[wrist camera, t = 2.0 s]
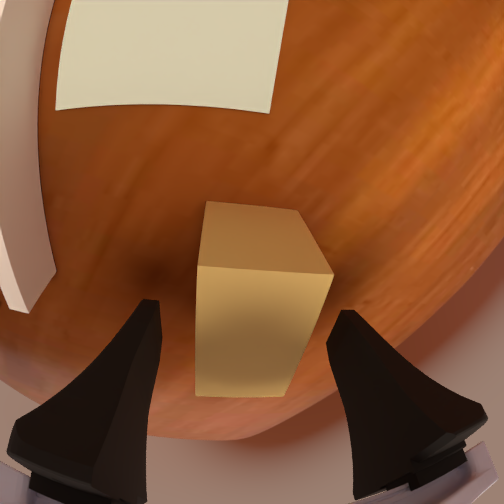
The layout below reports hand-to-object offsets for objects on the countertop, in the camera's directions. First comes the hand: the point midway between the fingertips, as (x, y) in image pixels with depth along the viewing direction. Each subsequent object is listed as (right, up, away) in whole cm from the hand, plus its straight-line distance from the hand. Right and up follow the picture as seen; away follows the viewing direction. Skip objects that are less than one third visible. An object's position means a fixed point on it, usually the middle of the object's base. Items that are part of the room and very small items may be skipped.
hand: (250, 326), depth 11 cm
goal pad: (-3, +11, -3) cm, 12 cm away
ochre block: (0, +2, +3) cm, 4 cm away
